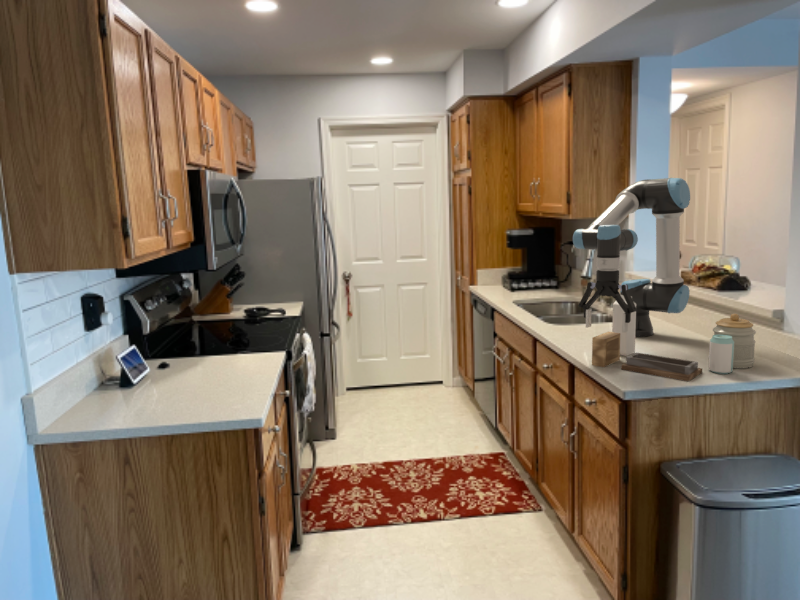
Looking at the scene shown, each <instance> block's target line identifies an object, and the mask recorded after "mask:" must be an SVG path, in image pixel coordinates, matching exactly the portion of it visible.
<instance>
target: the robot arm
mask: <svg viewBox="0 0 800 600" xmlns="http://www.w3.org/2000/svg"><path fill="white" fill-rule="evenodd" d="M690 201H691V191H690V187H689V184H688V183H687V181H686V180H685V179H684V178H681V177H665V178H654V179H653V178H652V179H642V180H639V181H636V182H633V183H631V184H630V185H629V186H627V187H626V188H624V189H623V190H621V191H620V192H619V193H618V194H617V195H616V197H615V200H614V202H613V203H611V204H610V205H609V206H608V207H607V208H606V209H605V210H604V211H603V212H602V213H601V214H600V215H599V216H598V217H597V218H596V219H595V220H594V221H592V222H591V224H590V225H588V227H587V228H578V229H576V230H575V231H574V232H573V235H572V243H573V247H575V248H576V249H577V250H578V249H579V250H584V251H587V250H590V251H592V250H594V251H595V250H596V268H597V270H596V272H595V273H596V274H595V275H596V281H595V282H594V281H589V282H587V287H586V290H585V292H584V294H583V295H582V298H581V300H580V301H579V304H578V307H580V308H581V309H583V319H584V318H585V328H591V327H592V313H593V312H592V308H591V307H592V306H593V304H594V303H595V302H596V301H597V300H598V299H599V297H600V296H602V297H612V298H613V299H614V300H615V301H617V302H618V304H619V305H620V307H621V308H622V309H623V311H624V312H625V313H623V319H622V332H627V331H628V323H629V322H630V321H631V313H632V312H635V311H636V331H635V338H637V337H638V338H639V337H641V338H642V337H648V336H649V337H650V336H652V335H654V327H653V324H652V320H651V317H650V311H651V312H659V313H666V314H667V313H668V314H681V313H682V312H683V311H684V310H685V308H686V307H687V305H688V302H689V299H690V289H689V286H688V285H687V284H685V283H684V282H685V281H684V280H685V279H684V278H682V276H680V271H681V270H680V265H681V264H680V259H681V257H680V256H681V255H680V249H681V248H680V247H681V246H680V243H681V241H680V239H681V236H680V234H681V231H680V228H681V226H680V225H681V224H680V223H681V216H682V215H683V214H684V213H685V209H686V208H688V206H689V205H690ZM644 209H645V210H646V209H647V210H651V215H652V216H653V217H654V218H655V244H656V245H655V252H656V253H655V255H656V257H655V258H656V259H655V260H656V261H655V265H656V268H655V270H656V271H655V272H656V273H655V275H656V276H655V277H654V278H653V279H652V281H651V279H650V278H637V279H629V280H624V281H622V282H621V284H620V270H619V269H620V265H621V264H620V258H621V257H620V256H621V251H623V252H624V251H630V250H632V249H634V248H635V247H636V246H637V245H638V241H639V238H638V234H637V233H636V231H634V230H632V229H629V228H622V229H621V226H620V224H622V222H623V221H624V220H625V219H626V218H627V217H628V216H629V215H631V214H634V213H635V212H636V211H637V210H644ZM595 288H596V291H595V292H594V293H593V295H592V296H591V294H592V292H593V290H594V289H595ZM619 290H620V291H619ZM620 295H623V296H624V298H625V300H626V303H627V304H626V303H625V301H624V300H623V299H622V297H621V296H620ZM590 296H591V297H590ZM631 296H632V298H631ZM634 302H635V303H636V307H635V305H634Z"/></svg>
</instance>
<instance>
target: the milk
mask: <svg viewBox="0 0 800 600" xmlns="http://www.w3.org/2000/svg"><path fill="white" fill-rule="evenodd" d="M620 296H621V297H622V299H623V300H624V301H625V303H626V300H625V298H624V296H623V295H620ZM631 298H632V296H631ZM626 304H627V303H626ZM634 305H635V307H636V303H635V302H634ZM623 313H625V312H624V311H623V309H622V308H621V307H620V305H619V304H618V302H617V301H616V300H615V301H614V302H613V303H612V326H611V327H612V331H611V332H615V333H620V356H624V357H625V356H626V357H628V356H630V355H632V354H634V353H636V337H635V331H636V311H635V312H632V313H631V321H630V322H629V323H628V331H627V332H622V319H623Z"/></svg>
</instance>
